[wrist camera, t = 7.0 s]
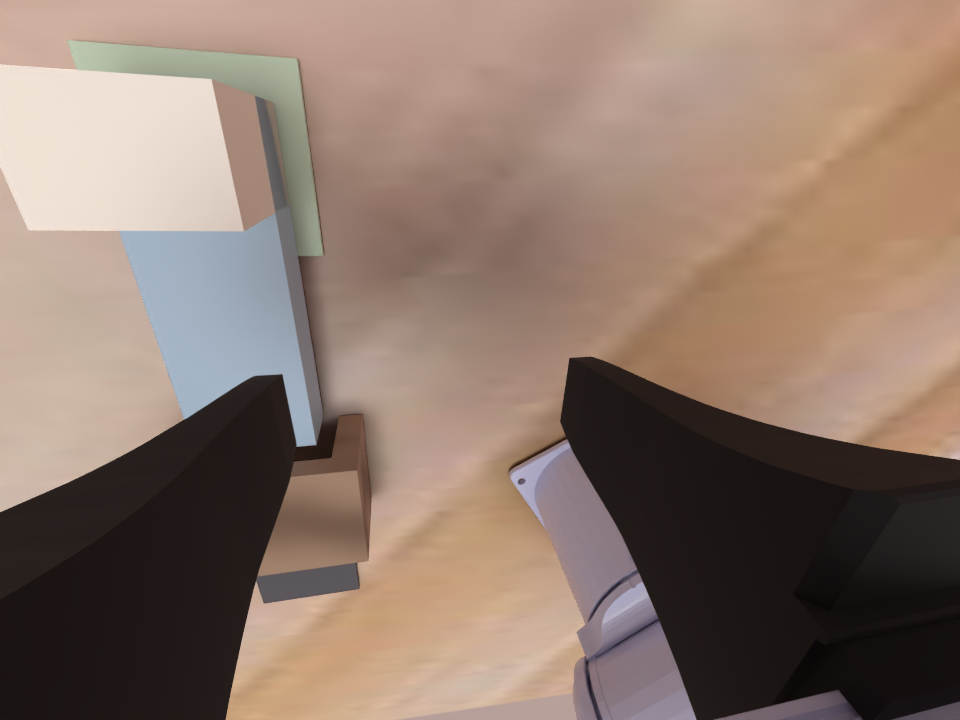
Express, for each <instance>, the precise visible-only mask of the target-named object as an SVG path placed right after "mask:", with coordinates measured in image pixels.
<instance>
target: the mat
mask: <svg viewBox="0 0 960 720" xmlns="http://www.w3.org/2000/svg"><path fill="white" fill-rule="evenodd" d="M67 42H68V45H69V48H70V51H71V54H72V56H73V59H74V62H75V65H76V68H77V70H86V71H100V72H115V73H129V74H144V75H158V76H173V77H187V78H202V79H212V80H215V81H218V82H220V83H223V84H226V85H228V86H231V87H234V88H236V89H239V90H241V91H244V92H247V93H249V94H252V95H255V96H257V97H260V98H263V99H265V100H268V101H271V102H273V104H274V110H275V117H276V123H277V129H278V135H279V142H280V148H281V154H282V160H283V166H284V173H285V179H286V185H287V191H288V198H289V204H290V210H291V216H292V223H293V229H294V235H295V241H296V248H297V254H298V256H323V255H324V252H323V244H322V237H321V229H320V221H319V214H318V206H317V198H316V191H315V183H314V176H313V168H312V160H311V153H310V145H309V138H308V130H307V122H306V115H305V107H304V100H303V92H302V84H301V77H300V69H299V62H298V59H296V58H283V57H271V56H258V55H246V54H234V53H221V52H209V51H196V50H184V49H171V48H159V47H146V46H134V45H122V44H109V43H97V42H84V41H72V40H67Z"/></svg>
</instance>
